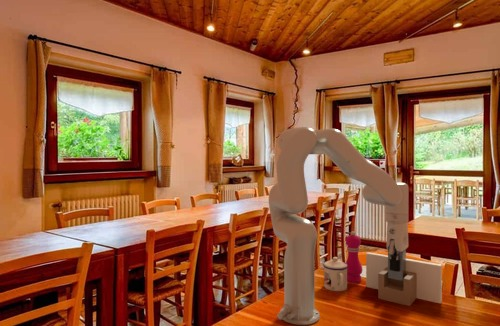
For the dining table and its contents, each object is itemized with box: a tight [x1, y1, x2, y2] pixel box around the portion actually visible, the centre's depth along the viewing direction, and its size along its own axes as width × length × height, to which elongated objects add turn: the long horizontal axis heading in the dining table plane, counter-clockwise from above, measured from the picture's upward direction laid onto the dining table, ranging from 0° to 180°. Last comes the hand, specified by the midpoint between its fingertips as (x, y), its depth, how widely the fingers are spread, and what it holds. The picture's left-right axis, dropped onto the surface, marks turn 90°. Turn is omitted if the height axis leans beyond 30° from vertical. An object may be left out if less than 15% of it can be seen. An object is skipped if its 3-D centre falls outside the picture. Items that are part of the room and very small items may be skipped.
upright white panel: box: [365, 252, 443, 307], centre depth 130 cm, size 11×26×13 cm, turn 51°
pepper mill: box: [345, 231, 363, 284], centre depth 149 cm, size 7×7×20 cm
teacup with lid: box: [323, 256, 348, 292], centre depth 139 cm, size 12×9×12 cm
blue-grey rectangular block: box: [387, 249, 407, 281], centre depth 129 cm, size 4×5×10 cm
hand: (396, 268), depth 129 cm, fingers closed on blue-grey rectangular block, 3 cm apart
